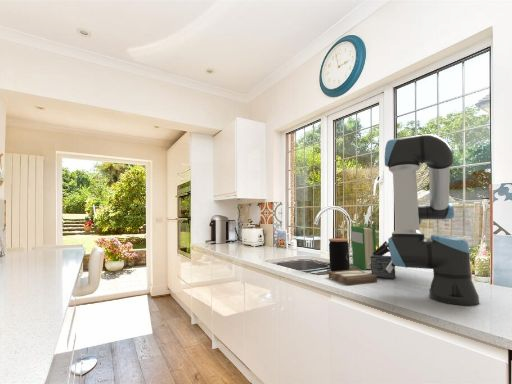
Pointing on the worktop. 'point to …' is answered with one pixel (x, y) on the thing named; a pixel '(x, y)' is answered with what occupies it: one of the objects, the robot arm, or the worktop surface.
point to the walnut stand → (352, 277)
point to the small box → (381, 267)
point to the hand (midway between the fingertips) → (378, 268)
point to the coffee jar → (339, 254)
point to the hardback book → (363, 246)
